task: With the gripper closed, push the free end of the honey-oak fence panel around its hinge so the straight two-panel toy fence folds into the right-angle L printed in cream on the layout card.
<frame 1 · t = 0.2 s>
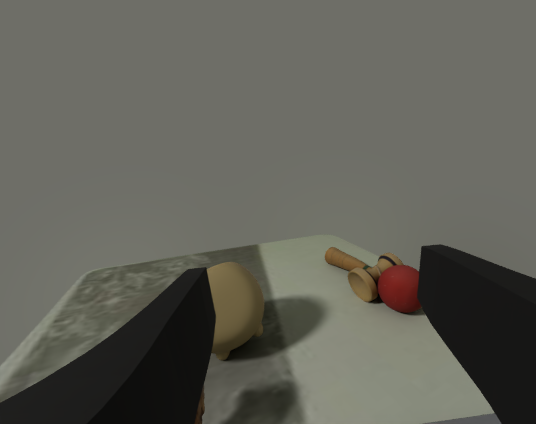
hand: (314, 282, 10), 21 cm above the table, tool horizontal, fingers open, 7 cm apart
toy pig: (222, 344, 38), on the table
kendama: (367, 287, 45), on the table
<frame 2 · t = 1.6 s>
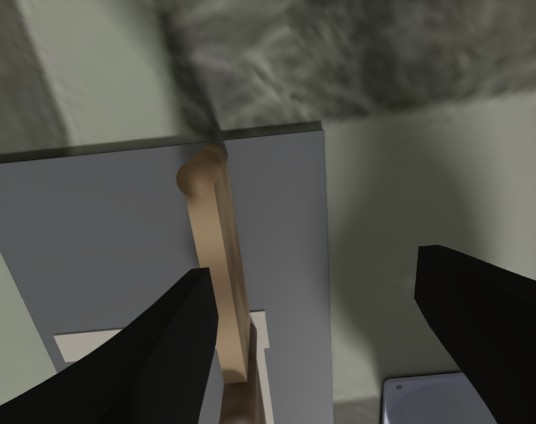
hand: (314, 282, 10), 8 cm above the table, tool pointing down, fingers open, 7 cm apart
layout card: (188, 332, 21), on the table
gate panel: (223, 263, 16), point 3 cm above the table, hinge at 0.0°
fence: (244, 327, 21), resting on layout card
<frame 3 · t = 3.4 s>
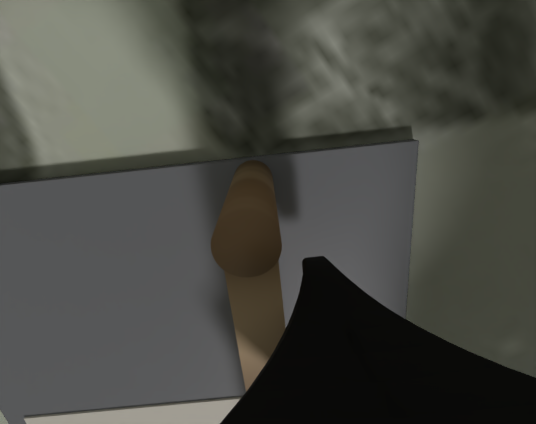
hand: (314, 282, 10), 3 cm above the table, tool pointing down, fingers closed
layout card: (206, 409, 16), on the table
gate panel: (269, 346, 10), point 3 cm above the table, hinge at 0.0°, touching gripper
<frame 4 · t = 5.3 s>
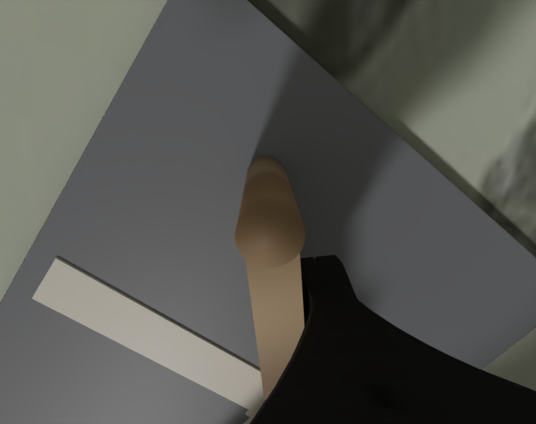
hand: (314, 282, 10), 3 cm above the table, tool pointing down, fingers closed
layout card: (225, 366, 15), on the table
gate panel: (281, 341, 10), point 3 cm above the table, hinge at 42.7°, touching gripper
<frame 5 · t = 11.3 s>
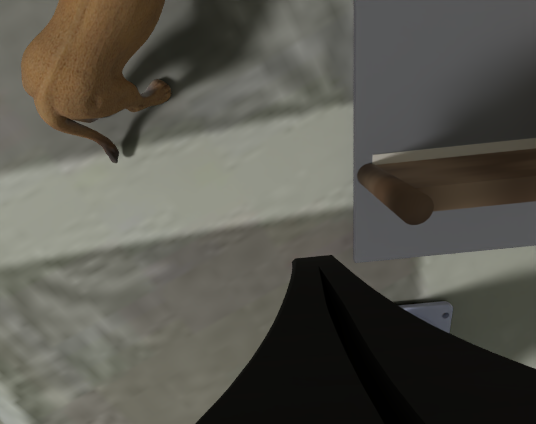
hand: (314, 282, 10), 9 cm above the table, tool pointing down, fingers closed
lion figurine: (147, 17, 16), on the table
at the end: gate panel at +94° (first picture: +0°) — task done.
